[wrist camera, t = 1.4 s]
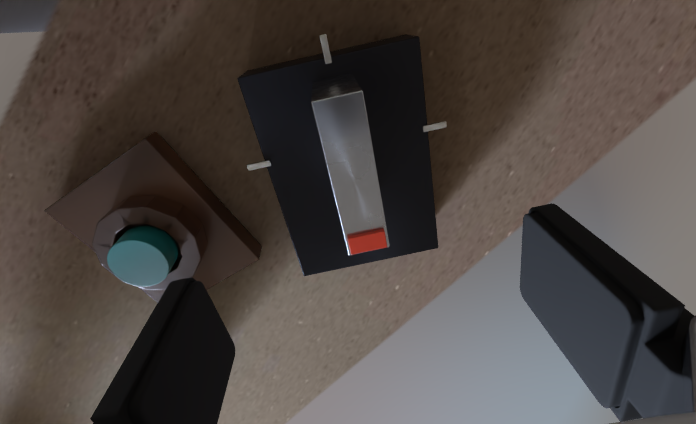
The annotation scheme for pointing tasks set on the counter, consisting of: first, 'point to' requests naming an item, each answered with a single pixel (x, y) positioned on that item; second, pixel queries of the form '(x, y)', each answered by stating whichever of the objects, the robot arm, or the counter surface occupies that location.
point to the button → (143, 256)
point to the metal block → (350, 161)
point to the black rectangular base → (308, 158)
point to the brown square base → (158, 214)
